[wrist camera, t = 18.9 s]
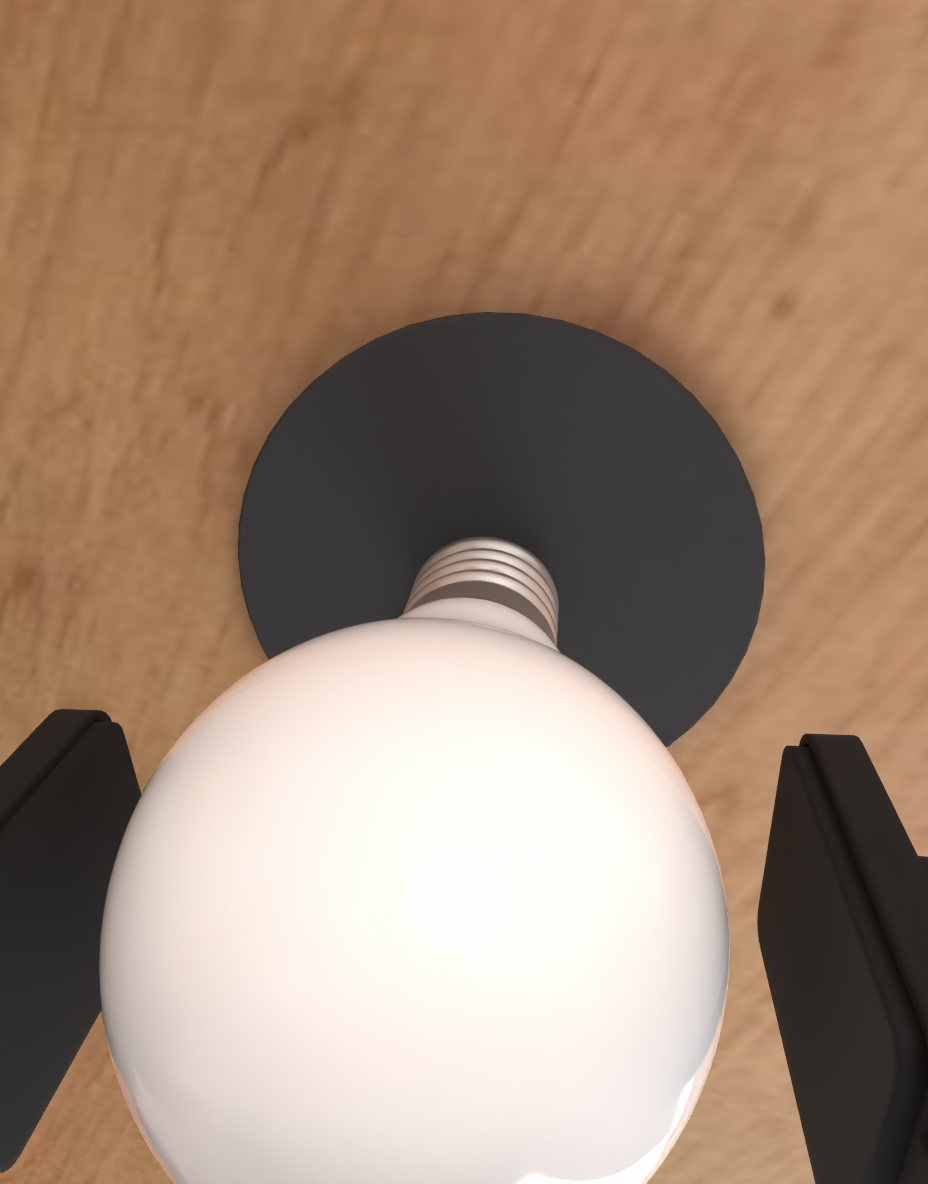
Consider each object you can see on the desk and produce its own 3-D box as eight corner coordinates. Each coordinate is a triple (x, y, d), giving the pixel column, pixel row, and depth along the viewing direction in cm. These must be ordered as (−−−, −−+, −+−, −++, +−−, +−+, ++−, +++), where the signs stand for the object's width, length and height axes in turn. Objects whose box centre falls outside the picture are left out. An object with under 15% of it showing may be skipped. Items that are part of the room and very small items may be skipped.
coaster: (205, 319, 15) (191, 324, 14) (792, 302, 14) (801, 307, 13) (285, 768, 19) (276, 785, 19) (732, 787, 18) (736, 806, 18)
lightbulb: (732, 550, 15) (1016, 1260, 5) (533, 774, 18) (480, 1505, 8) (431, 350, 14) (106, 775, 4) (270, 620, 17) (-145, 1243, 7)
